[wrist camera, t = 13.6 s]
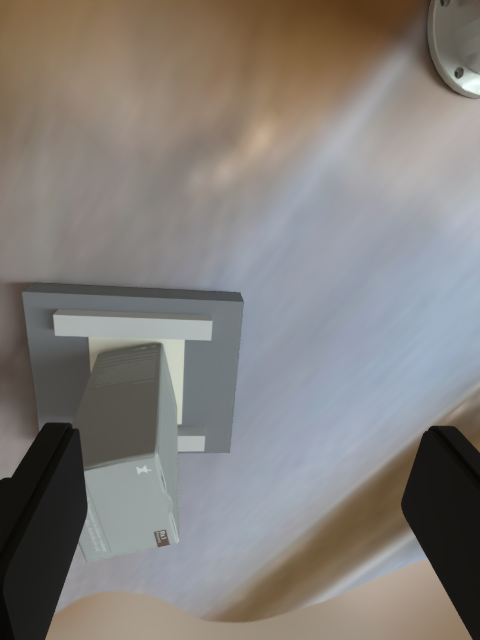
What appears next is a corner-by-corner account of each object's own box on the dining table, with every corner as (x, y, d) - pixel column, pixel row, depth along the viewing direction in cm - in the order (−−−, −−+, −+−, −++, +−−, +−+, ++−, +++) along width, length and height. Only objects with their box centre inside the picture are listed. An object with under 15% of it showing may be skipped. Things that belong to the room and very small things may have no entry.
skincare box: (98, 350, 36) (32, 471, 21) (172, 339, 37) (158, 451, 22) (117, 422, 39) (72, 571, 25) (186, 411, 40) (181, 551, 25)
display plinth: (240, 292, 39) (245, 307, 35) (227, 435, 45) (230, 462, 41) (34, 282, 36) (14, 296, 32) (52, 436, 43) (36, 464, 38)
